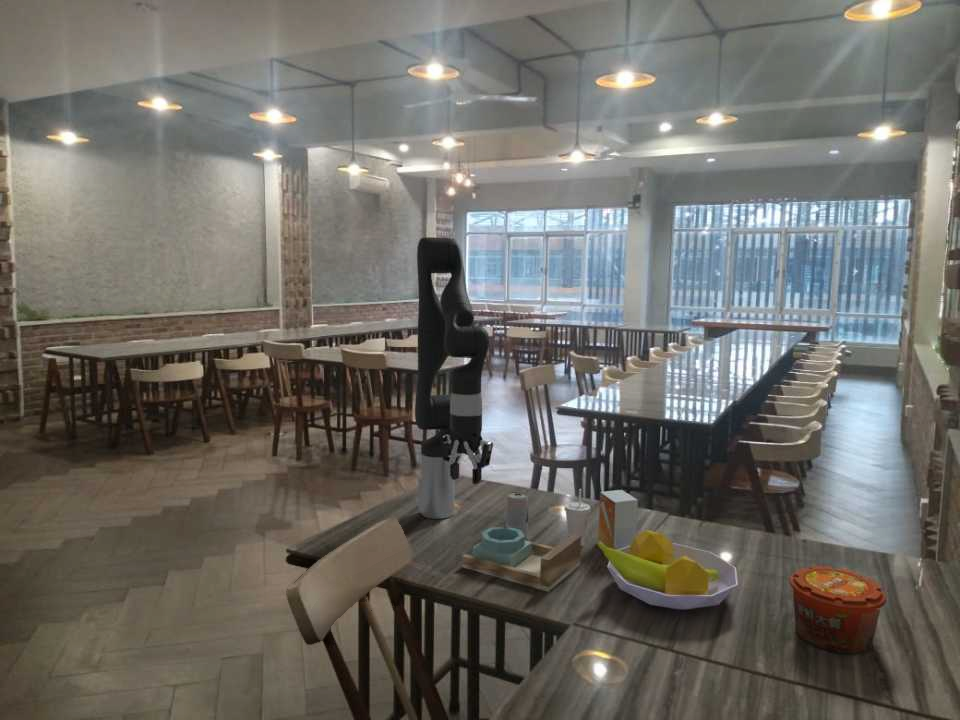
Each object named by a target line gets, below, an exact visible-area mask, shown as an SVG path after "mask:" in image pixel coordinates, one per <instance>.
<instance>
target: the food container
mask: <svg viewBox="0 0 960 720" xmlns="http://www.w3.org/2000/svg"><path fill="white" fill-rule="evenodd" d="M788 583H789V585H790V586H791V588H792V597H793V611H794V612H793V613H794V627H795V632H796V634H797V635H798V636H799V637H800V638H801V639H802V640H803V641H805V642H806V643H808V644H810V645H812V646H814V647H817V648H818V649H821V650H825V651H828V652H831V653H832V652H833V653H837V654H844V655H845V654H846V655H852V654H853V655H854V654H861V653H864V652H867V651H868V650H870V649H871V648H872V646H873V642H874V638H875V634H876V629H877V626H878V625H877V624H878V623H879V617H880V612H881V610H882V609H883V608H884V606H885V604H886V602H887V596H886V593H885V591H884V590H883V589H882V588H881V587H880V585H879V584H878V583H877V582H876V581H874V580H873V579H871V578H865V577H863V575H862V574H860V573H858V572H855V571H852V570H848V569H843V568H838V569H834V568H832V567H831V566H825V565H812V566H809V568H804V567H802V568H799V569H797V570H796V571H795V572H793V573H792V574H791V575H790V577H789V581H788Z"/></svg>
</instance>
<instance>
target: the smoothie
mask: <svg viewBox="0 0 960 720" xmlns="http://www.w3.org/2000/svg"><path fill="white" fill-rule="evenodd" d="M563 509H564V512H565V516H566V525H567V535H568V536H567V538H568V537H570V536H571V535H572V534H575V535H579V536H581V547H583V546H584V545H585V542H586V541H585V540H586V533H587V527H588V521H589V515H590V513H591V506H590V505H589V504H588V503H585V502H582V488H579V489H578V501H572V502H566V504H565V505H564V508H563Z"/></svg>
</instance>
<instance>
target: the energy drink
mask: <svg viewBox="0 0 960 720" xmlns="http://www.w3.org/2000/svg"><path fill="white" fill-rule="evenodd" d="M506 526H507V527H511V528H515V529H519V530H521V531H522V533H523V534H524V535H525V540H526V541H529V540H528V539H529V538H528V537H529V533H528V532H529V496H528V494H527V493H525V492H521V491H513V492H512V491H511V492H509V493H508V494H507V496H506Z"/></svg>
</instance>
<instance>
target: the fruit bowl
mask: <svg viewBox="0 0 960 720" xmlns="http://www.w3.org/2000/svg"><path fill="white" fill-rule="evenodd" d="M596 545H597V547H598V548H599V549H600V550H601V551H602V552H603V555H604V556H605V558H606V559H607V561H608V564H607V569H608V571H609V573H610V574H611V576H612V578H613V579H614V581H615V583H616V585H617V586H618V588H619V590H621V591H623V592H625V593H627V594H629V595H631V596H633V597H635V599H638V600H641V601H642V602H645V603H646V604H648V605H650V606H655V607H662V608H667V609H672V610H673V609H675V610H679V611H682V610H691V609H699V608H707V607H712V606H713V607H714V606H719V605H720V604H721V602H723V600H724V599H726V597H728V595H729V594H731V593H732V591H733V590H734V589H736V588H737V586H738V584H739V583H738V574H737V567H735V566H734V565H733V564H731V563H729V562H728V561H727V560H724V559H723V558H721V557H720V556H718V555H716V554H715V553H714V552H712V551H708V550H704V549H700V548H699V549H698V548H696V547H691V546H688V545H683V544H679V543H675V542H673V543H672V540H671V539H669V538H668V537H667V536H666V535H664V533H660V532H657V531H652V530H649V529H644V530H643V531H642V532H640V533H639V534H637V535H636V536H635V537H634V539H633V541H632V543H631V545H630V546H627V547H624V548H621V549H618V550H615V549H612V548H609V547H606V546H605V545H604V544H603V543H602V542H599V541H598V542H597V543H596Z"/></svg>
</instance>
